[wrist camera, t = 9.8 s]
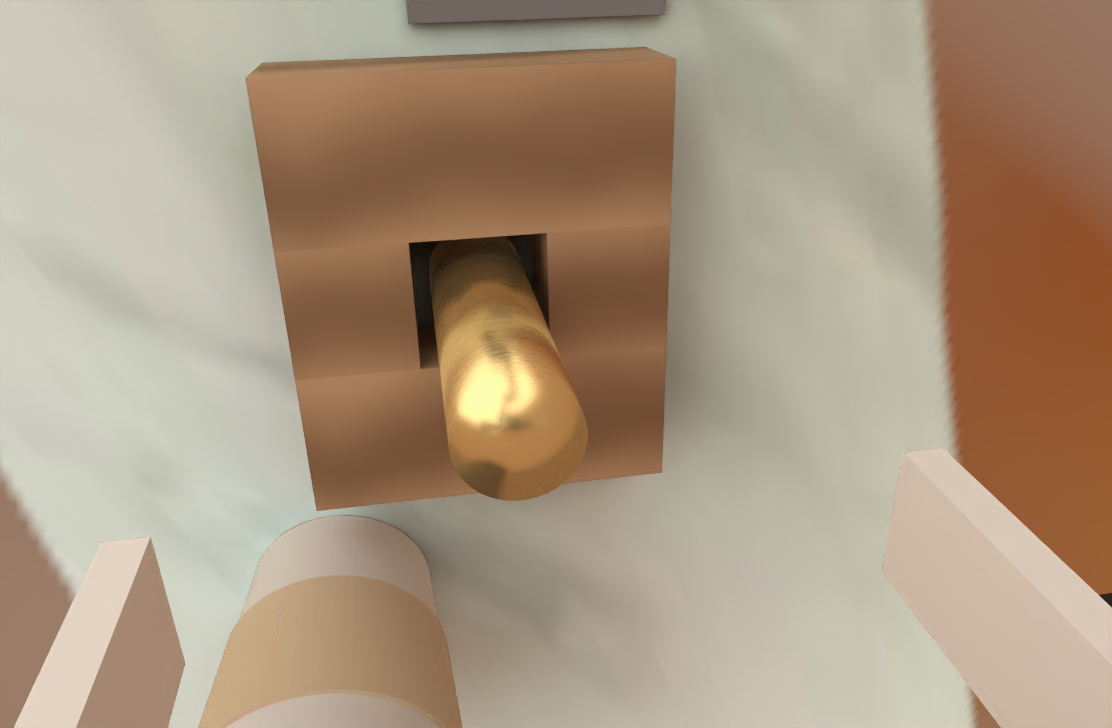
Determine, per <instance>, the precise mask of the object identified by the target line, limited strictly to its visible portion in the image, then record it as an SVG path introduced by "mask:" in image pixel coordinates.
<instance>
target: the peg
mask: <svg viewBox="0 0 1112 728" xmlns="http://www.w3.org/2000/svg"><path fill="white" fill-rule="evenodd" d="M429 280H430V289H431V298H432V306H433V315H434V324H435V332H436V341H437V350H438V358H439V367H440V376H441V385H442V393H443V402H444V411H445V419H446V428H447V437H448V445H449V452H450V457H451V461H452V464H453V466H454V468H455V470H456V471H457V473H458V474H459V476H460V477H461V478H462V479H463V480H464V481H465V483H466V484H468V485H469V486H470V487H471V488H473V489H474V490H476V491H478V492H479V493H482V494H484V495H486V496H489V497H492V498H496V499H502V500H524V499H530V498H534V497H538V496H540V495H543V494H545V493H548V492H550V491H551V490H553V489H555V488H557V487H558V486H559V485H561V484H562V483H563V482H565V481H566V480H567V479H568V478H569V477H570V476H571V475H572V474H573V473H574V471H575V470H576V469H577V467H578V466H579V464H580V462H581V460H582V458H583V456H584V453H585V451H586V446H587V441H588V428H587V423H586V419H585V416H584V414H583V411H582V409H581V406H580V404H579V401H578V399H577V397H576V394H575V392H574V389H573V387H572V384H571V382H570V380H569V377H568V375H567V372H566V370H565V367H564V365H563V363H562V360H561V358H560V355H559V353H558V350H557V348H556V346H555V343H554V341H553V338H552V336H551V333H550V331H549V329H548V326H547V324H546V321H545V319H544V316H543V314H542V312H541V309H540V307H539V304H538V302H537V299H536V297H535V295H534V292H533V290H532V287H531V285H530V282H529V280H528V278H527V275H526V273H525V270H524V268H523V265H522V263H521V261H520V258H519V256H518V253H517V251H516V249H515V247H514V245H513V244H512V243H511V241H510V240H509V239H508V238H507V237H506V236H498V237H484V238H469V239H455V240H441V241H439V243H438V244H437V245H436V247H435V248H434V250H433V252H432V255H431V258H430V261H429Z"/></svg>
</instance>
